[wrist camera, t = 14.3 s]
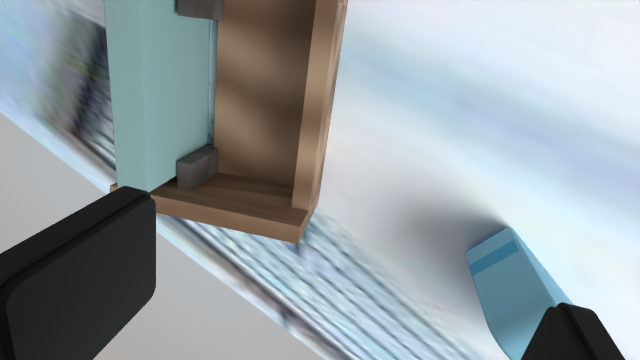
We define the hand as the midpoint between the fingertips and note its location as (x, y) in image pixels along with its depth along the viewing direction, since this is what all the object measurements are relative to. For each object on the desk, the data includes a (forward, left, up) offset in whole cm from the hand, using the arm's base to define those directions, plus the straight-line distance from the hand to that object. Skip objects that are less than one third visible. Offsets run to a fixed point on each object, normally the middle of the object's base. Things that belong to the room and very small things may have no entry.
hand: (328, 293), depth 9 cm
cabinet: (0, -12, -26) cm, 29 cm away
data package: (+13, +16, -26) cm, 34 cm away
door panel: (0, -17, -26) cm, 31 cm away
